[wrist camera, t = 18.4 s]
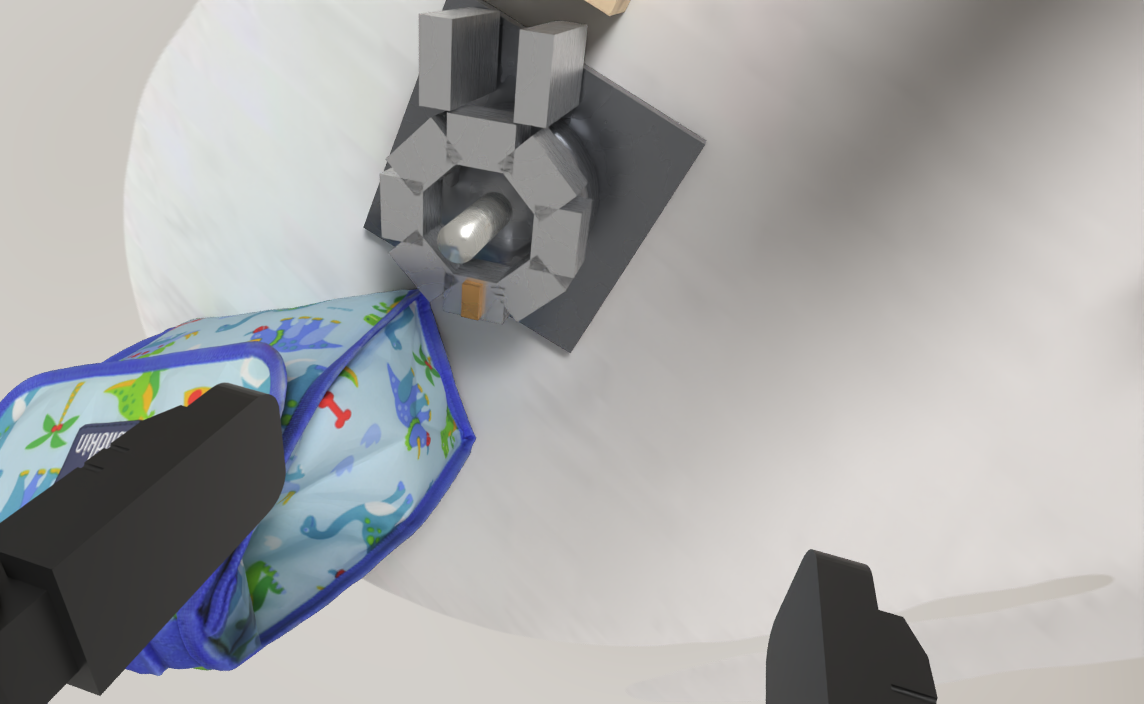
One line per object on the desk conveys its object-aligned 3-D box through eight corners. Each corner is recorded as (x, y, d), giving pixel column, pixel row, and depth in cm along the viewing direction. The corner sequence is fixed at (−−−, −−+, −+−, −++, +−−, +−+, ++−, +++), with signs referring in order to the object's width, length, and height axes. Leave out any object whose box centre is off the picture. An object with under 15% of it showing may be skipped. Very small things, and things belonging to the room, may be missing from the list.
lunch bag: (419, 242, 45) (91, 499, 23) (492, 444, 52) (292, 788, 30) (173, 286, 53) (-255, 514, 31) (265, 458, 60) (-28, 744, 38)
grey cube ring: (629, 31, 35) (600, 43, 29) (591, 291, 42) (563, 343, 36) (433, 1, 36) (368, 7, 30) (431, 256, 44) (379, 300, 38)
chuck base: (458, -16, 37) (361, -11, 28) (706, 140, 38) (687, 193, 29) (370, 222, 45) (274, 283, 37) (574, 346, 46) (527, 435, 37)
